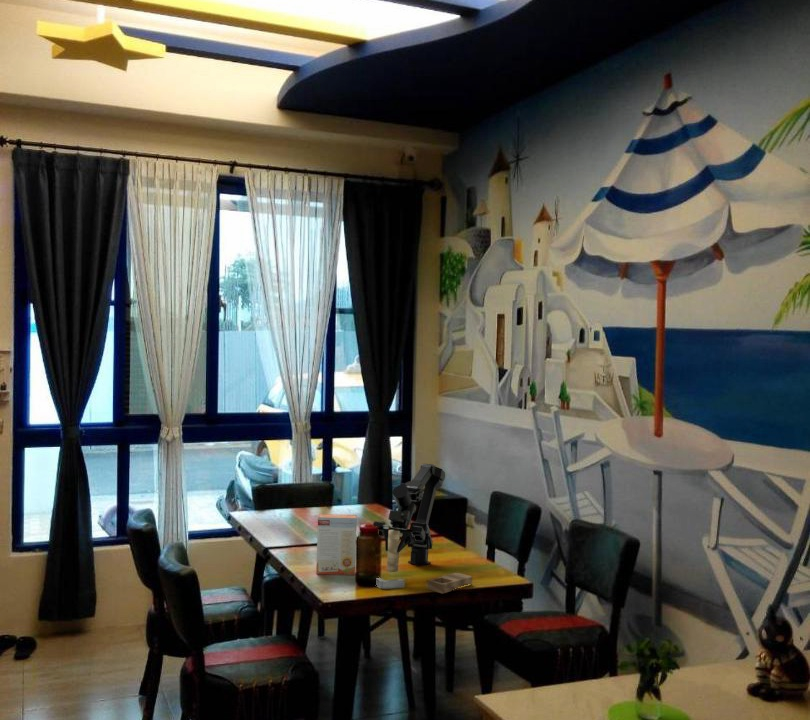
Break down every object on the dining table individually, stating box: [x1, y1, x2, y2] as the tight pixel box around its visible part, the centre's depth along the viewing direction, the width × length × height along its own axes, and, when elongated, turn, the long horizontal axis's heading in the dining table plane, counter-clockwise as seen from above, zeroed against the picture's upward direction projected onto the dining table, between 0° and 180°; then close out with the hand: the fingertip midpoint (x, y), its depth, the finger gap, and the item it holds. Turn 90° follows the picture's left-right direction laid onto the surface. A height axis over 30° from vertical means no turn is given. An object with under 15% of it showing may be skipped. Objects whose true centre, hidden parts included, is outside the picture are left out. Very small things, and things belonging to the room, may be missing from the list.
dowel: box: [386, 530, 401, 573], centre depth 302 cm, size 4×4×14 cm
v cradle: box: [375, 577, 406, 590], centre depth 296 cm, size 7×12×2 cm, turn 70°
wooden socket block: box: [426, 572, 473, 594], centre depth 298 cm, size 16×7×3 cm, turn 137°
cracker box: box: [315, 513, 358, 576], centre depth 310 cm, size 14×6×21 cm, turn 92°
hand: (392, 551), depth 300 cm, fingers closed on dowel, 4 cm apart
